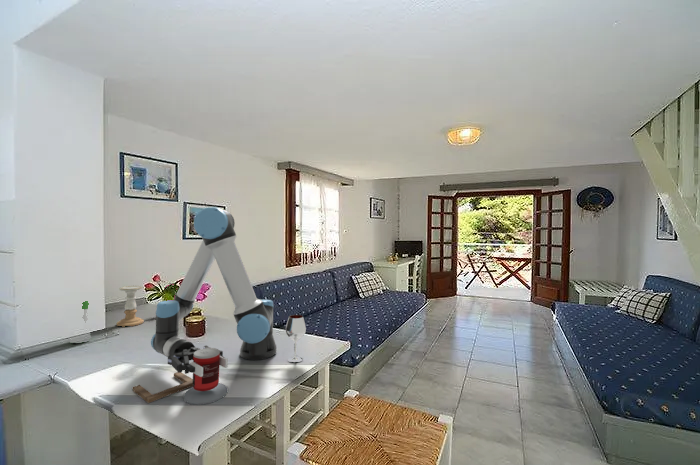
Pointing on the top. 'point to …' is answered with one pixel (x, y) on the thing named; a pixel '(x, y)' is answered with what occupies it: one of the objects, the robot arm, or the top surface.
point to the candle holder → (130, 307)
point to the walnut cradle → (152, 397)
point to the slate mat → (205, 395)
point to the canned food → (207, 369)
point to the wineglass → (295, 330)
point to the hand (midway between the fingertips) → (214, 367)
